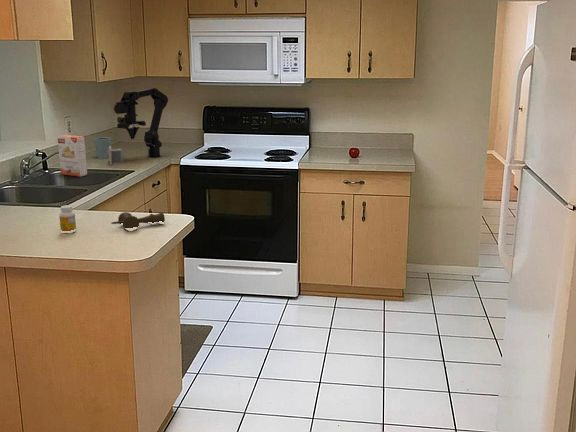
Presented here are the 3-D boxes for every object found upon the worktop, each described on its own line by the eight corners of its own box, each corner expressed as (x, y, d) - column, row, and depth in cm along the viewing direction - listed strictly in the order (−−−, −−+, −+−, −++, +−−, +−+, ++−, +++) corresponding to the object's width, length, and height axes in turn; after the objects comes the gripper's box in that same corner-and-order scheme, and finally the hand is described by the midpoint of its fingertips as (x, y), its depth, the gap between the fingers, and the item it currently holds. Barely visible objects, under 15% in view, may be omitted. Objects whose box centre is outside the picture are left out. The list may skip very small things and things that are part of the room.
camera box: (107, 162, 374) (106, 149, 372) (110, 160, 381) (109, 148, 379) (121, 162, 374) (120, 149, 372) (124, 160, 381) (123, 148, 379)
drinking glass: (99, 159, 386) (97, 139, 383) (92, 157, 393) (91, 138, 390) (115, 157, 392) (113, 138, 389) (108, 155, 400) (106, 136, 397)
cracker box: (60, 174, 338) (56, 135, 333) (68, 172, 343) (65, 134, 338) (79, 177, 332) (76, 137, 326) (87, 175, 337) (84, 136, 331)
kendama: (167, 228, 239) (114, 233, 230) (160, 223, 247) (108, 228, 238) (167, 213, 238) (113, 217, 228) (159, 208, 246) (107, 212, 236)
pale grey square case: (109, 162, 374) (108, 146, 371) (112, 162, 374) (111, 145, 372) (109, 165, 364) (107, 148, 361) (111, 165, 364) (110, 148, 362)
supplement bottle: (57, 232, 231) (55, 206, 228) (70, 229, 235) (68, 204, 233) (66, 235, 228) (64, 209, 225) (79, 231, 232) (77, 206, 229)
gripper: (131, 110, 387) (133, 136, 391) (109, 113, 371) (111, 139, 375) (145, 111, 382) (147, 137, 386) (123, 114, 366) (125, 141, 370)
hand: (132, 138), depth 379 cm, fingers closed
